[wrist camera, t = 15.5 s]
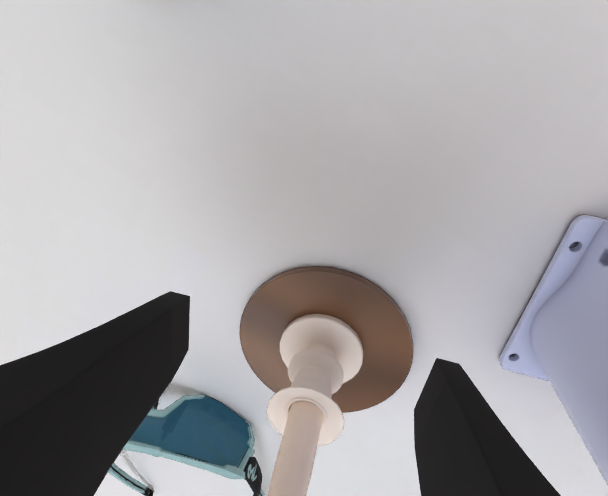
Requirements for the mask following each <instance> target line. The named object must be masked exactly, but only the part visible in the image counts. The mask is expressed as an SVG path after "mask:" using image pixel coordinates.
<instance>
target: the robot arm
mask: <svg viewBox="0 0 608 496" xmlns="http://www.w3.org/2000/svg"><path fill="white" fill-rule="evenodd" d="M573 242H578V245H577V246H576V247H575V248H569V247H570V245H571V244H572V243H573ZM189 309H190V296H187V295H183V294H179V293H175V292H171V291H170V292H168V293H166V294H164V295H162V296H159V297H157V298H155V299H153V300H151V301H149V302H147V303H145V304H143V305H141V306H139V307H137V308H135V309H133V310H131V311H129V312H127V313H125V314H123V315H121V316H119V317H117V318H115V319H113V320H111V321H109V322H107V323H105V324H103V325H100V326H98V327H96V328H94V329H91V330H89V331H87V332H85V333H82V334H80V335H78V336H76V337H73V338H71V339H69V340H67V341H64V342H62V343H60V344H57V345H55V346H52V347H50V348H47V349H45V350H42V351H39V352H37V353H34V354H31V355H28V356H26V357H23V358H20V359H17V360H15V361H12V362H9V363H6V364H3V365H0V496H94V494H95V492H96V491H97V489H98V487H99V486H100V484H101V482H102V481H103V479H104V477H105V476H106V474H107V472H108V470H109V469H110V467H111V466H112V464H113V463H114V461H115V460H116V458H117V457H118V455H119V454H120V452H121V451H122V449H123V448H124V446H125V445H126V444H127V442H128V441H129V439H130V438H131V437H132V435H133V434H134V432H135V431H136V430H137V428H138V427H139V425H140V424H141V423H142V421H143V420H144V419H145V417H146V416H147V414H148V413H149V412H150V410H151V409H152V407H153V406H154V405H155V403H156V402H157V400H158V399H159V398H160V396H161V395H162V393H163V392H164V391H165V389H166V388H167V386H168V385H169V383H170V382H171V380H172V379H173V377H174V375H175V374H176V372H177V370H178V368H179V366H180V365H181V363H182V361H183V359H184V357H185V355H186V353H187V351H188V346H189ZM511 354H516V355H515V356H510V355H511ZM499 362H500V365H501V367H502V368H503V369H505V370H509V371H512V372H516V373H520V374H524V375H528V376H531V377H535V378H539V379H543V380H547V381H550V383H551V385H552V387H553V388H554V390H555V392H556V394H557V396H558V397H559V399H560V401H561V403H562V405H563V406H564V408H565V410H566V412H567V414H568V415H569V417H570V419H571V421H572V422H573V424H574V426H575V428H576V430H577V431H578V433H579V435H580V437H581V439H582V440H583V442H584V444H585V446H586V448H587V449H588V451H589V453H590V455H591V456H592V458H593V460H594V462H595V464H596V465H597V467H598V469H599V471H600V473H601V474H602V476H603V478H604V480H605V482H606V483H607V485H608V219H603V218H599V217H594V216H589V215H582V216H579V217H577V218H575V219H574V220H573V222H572V223H571V225H570V227H569V228H568V230H567V232H566V234H565V236H564V238H563V240H562V242H561V243H560V245H559V247H558V249H557V251H556V253H555V255H554V256H553V258H552V260H551V262H550V264H549V266H548V268H547V270H546V271H545V273H544V275H543V277H542V279H541V281H540V283H539V285H538V286H537V288H536V290H535V292H534V294H533V296H532V298H531V299H530V301H529V303H528V305H527V307H526V309H525V311H524V313H523V314H522V316H521V318H520V320H519V322H518V324H517V326H516V328H515V329H514V331H513V333H512V335H511V337H510V339H509V341H508V342H507V344H506V346H505V348H504V350H503V352H502V354H501V356H500V357H499ZM414 437H415V453H416V460H417V468H418V475H419V483H420V490H421V496H560V494H559V493H558V492H557V491H556V490H555V489H554V487H553V486H552V485H551V484H550V483H549V482H548V480H547V479H546V478H545V477H544V476H543V474H542V473H541V472H540V471H539V470H538V468H537V467H536V466H535V465H534V463H533V462H532V461H531V460H530V459H529V457H528V456H527V455H526V454H525V452H524V451H523V450H522V449H521V447H520V446H519V445H518V443H517V442H516V441H515V440H514V438H513V437H512V436H511V434H510V433H509V432H508V430H507V429H506V428H505V426H504V425H503V424H502V422H501V421H500V420H499V418H498V417H497V416H496V414H495V413H494V412H493V410H492V409H491V407H490V406H489V405H488V403H487V402H486V400H485V399H484V398H483V396H482V395H481V393H480V392H479V391H478V389H477V388H476V386H475V385H474V384H473V382H472V381H471V379H470V378H469V377H468V375H467V374H466V372H465V371H464V370H463V368H462V367H461V366H460V364H458V363H454V362H450V361H446V360H442V359H438V358H436V360H435V363H434V365H433V367H432V370H431V372H430V374H429V377H428V379H427V381H426V383H425V386H424V388H423V390H422V393H421V395H420V397H419V400H418V402H417V404H416V406H415V409H414Z"/></svg>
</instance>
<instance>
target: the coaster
mask: <svg viewBox="0 0 608 496" xmlns="http://www.w3.org/2000/svg"><path fill="white" fill-rule="evenodd" d="M310 314H323V315H329V316H332V317H335V318H338V319H340V320H342V321H343V322H345V323H346V324H348V325H349V326H350V327H351V328H352V329H353V330H354V331H355V332H356V333H357V335H358V337H359V338H360V340H361V342H362V347H363V361H362V365H361V368H360V370H359V372H358V373H357V374H356V375H355V376H354V377H353V378H352V379H350V380H349V381H347V382H345V383H343V384H342V385H341V387H340V389H339V390H338V391H337V392H336V393H334V394H332V398H331V399H332V400H333V401H334V402H335V403H336V404H337V405H338V406H339V408H340V410H341V411H342V413H344V412H354V411H359V410H363V409H367V408H370V407H372V406H375V405H377V404H379V403H381V402H383V401H384V400H386V399H387V398H389V397H390V396H391V395H393V394H394V393H395V392H396V391H397V390H398V389H399V388H400V386H401V385H402V384H403V382H404V381H405V379H406V377H407V375H408V373H409V371H410V368H411V364H412V358H413V343H412V336H411V332H410V328H409V325H408V323H407V320H406V318H405V316H404V314H403V313H402V311H401V309H400V308H399V307H398V305H397V304H396V303H395V302H394V300H393V299H392V298H391V297H390V296H389V295H388V294H387V293H386V292H384V291H383V290H382V289H380V288H379V287H378V286H376V285H375V284H373V283H372V282H370V281H368V280H367V279H365V278H363V277H360V276H358V275H356V274H353V273H350V272H347V271H344V270H340V269H335V268H329V267H304V268H298V269H293V270H290V271H287V272H283V273H281V274H279V275H277V276H275V277H273V278H271V279H270V280H268V281H267V282H265V283H264V284H263V285H262V286H261V287H260V288H258V289H257V291H256V292H255V293H254V294H253V296H252V297H251V298H250V300H249V302H248V304H247V305H246V307H245V309H244V312H243V314H242V317H241V323H240V341H241V346H242V350H243V353H244V355H245V358H246V360H247V362H248V364H249V365H250V367H251V369H252V370H253V371H254V373H255V374H256V375H257V377H258V378H259V379H260V380H261V381H262V382H263V383H264V384H265V385H266V386H267V387H269V388H270V389H271V390H272V391H274V392H275V393H276V392H278V391H280V390H281V389H284V388H288V387H291V384H292V382H291V381H290V379H289V376H288V368H287V366H286V365H285V363H284V362H283V360H282V357H281V354H280V340H281V337H282V334H283V332H284V330H285V329H286V327H287V326H288V325H289V324H290V323H291V322H292V321H294V320H295V319H297V318H299V317H302V316H305V315H310Z"/></svg>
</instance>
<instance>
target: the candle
mask: <svg viewBox="0 0 608 496" xmlns="http://www.w3.org/2000/svg"><path fill="white" fill-rule="evenodd" d="M280 354H281V357H282V360H283V362H284V363H285V365H286V366H287V368H288V376H289V379H290V381H291V382H292V384H291V387H288V388H284V389H281V390H280V391H278V392H276V393H275V394H274V395H273V396H272V397H271V399H270V401H269V404H268V406H267V415H268V418H269V421H270V423H271V424H272V426H273V427H274V429H275V430H276V431H277V432H278V433H279V434H281V435H282V436H283V437H282V440H281V444H280V448H279V451H278V455H277V459H276V462H275V466H274V470H273V474H272V478H271V482H270V487H269V491H268V495H267V496H306V494H307V490H308V486H309V482H310V478H311V473H312V469H313V464H314V459H315V454H316V449H317V446H322V445H327V444H329V443H331V442H333V441H335V440H336V439H337V438H338V437H339V436H340V435H341V433H342V431H343V428H344V417H343V413H342V411H341V410H340V408H339V406H338V405H337V404H336V403H335V402H334V401H333V400H332V399H331V398H332V394H334V393H336V392H337V391H338V390H339V389H340V387H341V385H342V384H343V383H345V382H347V381H349V380H350V379H352V378H353V377H354V376H355V375H356V374H357V373H358V372H359V370H360V368H361V365H362V361H363V347H362V342H361V340H360V338H359V337H358V335H357V333H356V332H355V331H354V330H353V329H352V328H351V327H350V326H349V325H348V324H346V323H345V322H343V321H342V320H340V319H338V318H335V317H332V316H329V315H323V314H310V315H305V316H302V317H299V318H297V319H295V320H294V321H292V322H291V323H290V324H289V325H288V326H287V327H286V329H285V330H284V332H283V334H282V337H281V340H280Z"/></svg>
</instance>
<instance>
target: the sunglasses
mask: <svg viewBox="0 0 608 496" xmlns="http://www.w3.org/2000/svg"><path fill="white" fill-rule="evenodd" d="M158 401H159V399H158V400H157V402H156V403H155V405H154V406H153V407H152V409H151V410H150V412H149V413H148V414H147V416H146V417H145V419H144V420H143V421H142V423H141V424H140V425H139V427H138V428H137V430H136V431H135V432H134V434H133V435H132V437H131V438H130V439H129V441H128V442H127V444H126V445H125V446H124V448H123V449H124V450H130V451H135V452H141V453H146V454H150V455H153V456H156V457H164V458H168V459H171V460H175V461H178V462H181V463H185V464H188V465H191V466H194V467H198V468H201V469H204V470H207V471H210V472H213V473H216V474H219V475H222V476H224V477H227V478H230V479H245V480H247V482H248V484H249V485H250V487H251V489H252V491H253V492H254V495H253V496H264V493H263V491H262V489H261V483H262V473H261V469H260V467H259V464H258V462H257V460H256V458H255V457H253V454H254V452H255V451H254V449H253V446H254V442H255V438H254V435H253V431H252V428H251V425H248V424H247V423H246V421H245V420H244V419H243V418H241V417H240V416H238V415H237V414H236V413H234V412H233V411H231V410H230V409H229V408H227V407H226V406H224V405H223V404H222V403H220V402H218V401H216V400H214V399H211V398H209V397H207V396H206V395H193V396H183V397H181V398H180V399H178V400H177V401H175V402H174V403H173V404H171V405H170V406H168V407H167V408H165V409H164V410H157V406H158ZM179 454H180V455H179ZM182 455H183V456H182ZM186 456H187V457H186ZM190 457H191V458H190ZM193 458H194V459H193ZM197 459H198V460H197ZM108 473H110V474H111V475H113V476H114V477H115V478H117V479H118V480H120V481H121V482H122V483H124V484H126V485H127V486H129V487H131V488H132V489H134V490H136V491H138V492H140V493H142V494H143V495H145V496H153V491H152V490H151V489H150V488H148V487H147V486H145V485H144V484H142V483H140V482H139V481H137V480H135V479H133V478H132V477H130V476H129V475H128V474H126V473H125V472H124V471H122V470H121V469H120V468H119V467H118V466H116V465H115V463H113V464H112V466H111V467H110V469H109V470H108ZM148 493H149V494H148Z"/></svg>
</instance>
